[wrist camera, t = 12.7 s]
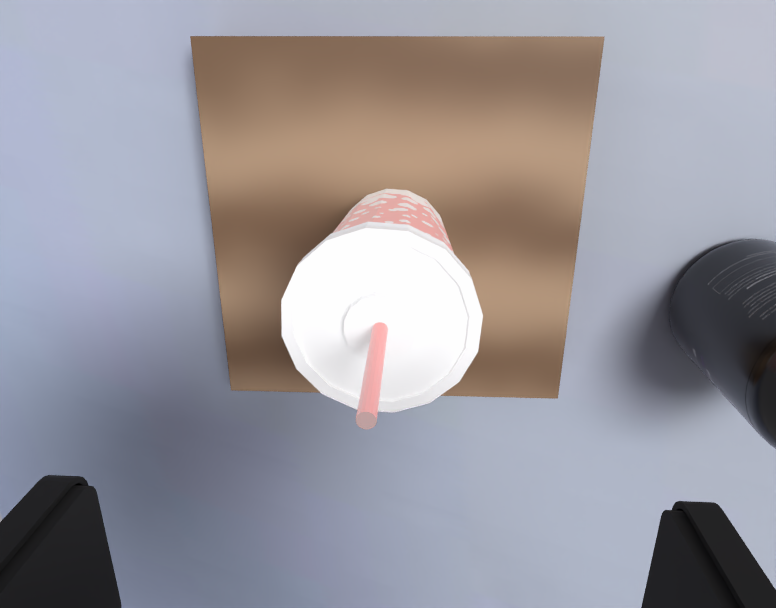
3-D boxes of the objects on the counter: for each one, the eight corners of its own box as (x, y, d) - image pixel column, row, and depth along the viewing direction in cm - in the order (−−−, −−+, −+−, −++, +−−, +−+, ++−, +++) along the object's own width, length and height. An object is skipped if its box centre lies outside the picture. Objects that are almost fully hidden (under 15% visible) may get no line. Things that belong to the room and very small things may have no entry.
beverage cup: (341, 153, 25) (255, 259, 12) (482, 192, 25) (545, 336, 12) (311, 285, 27) (211, 492, 14) (440, 319, 28) (456, 552, 15)
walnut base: (545, 368, 32) (557, 398, 29) (247, 361, 32) (231, 390, 30) (584, 38, 26) (604, 36, 23) (214, 38, 26) (190, 36, 23)
